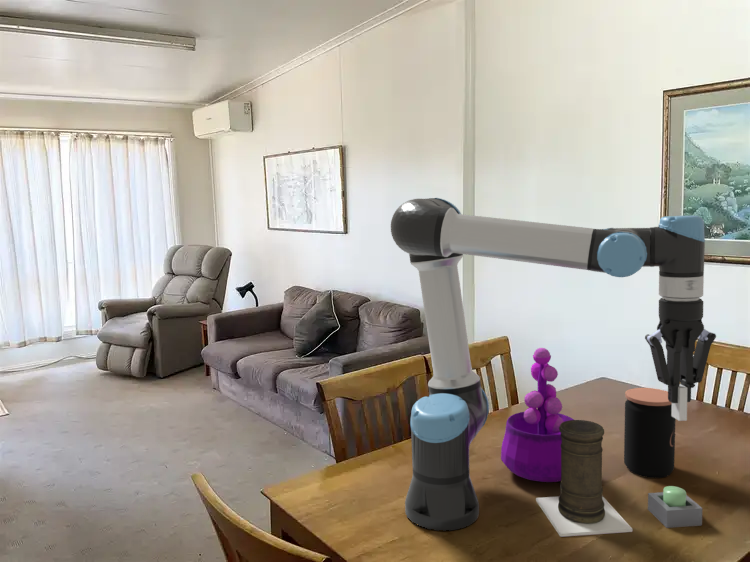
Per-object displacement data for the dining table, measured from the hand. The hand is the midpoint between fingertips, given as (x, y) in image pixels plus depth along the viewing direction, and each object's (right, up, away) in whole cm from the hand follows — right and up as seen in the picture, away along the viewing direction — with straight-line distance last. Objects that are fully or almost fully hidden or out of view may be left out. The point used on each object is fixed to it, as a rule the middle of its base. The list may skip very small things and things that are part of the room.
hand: (679, 418), depth 115 cm
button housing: (0, -20, +3) cm, 20 cm away
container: (-17, -20, +5) cm, 27 cm away
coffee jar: (+5, -18, +24) cm, 30 cm away
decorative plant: (-20, -19, +23) cm, 36 cm away
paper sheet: (-17, -21, +5) cm, 27 cm away
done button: (0, -20, +3) cm, 20 cm away
